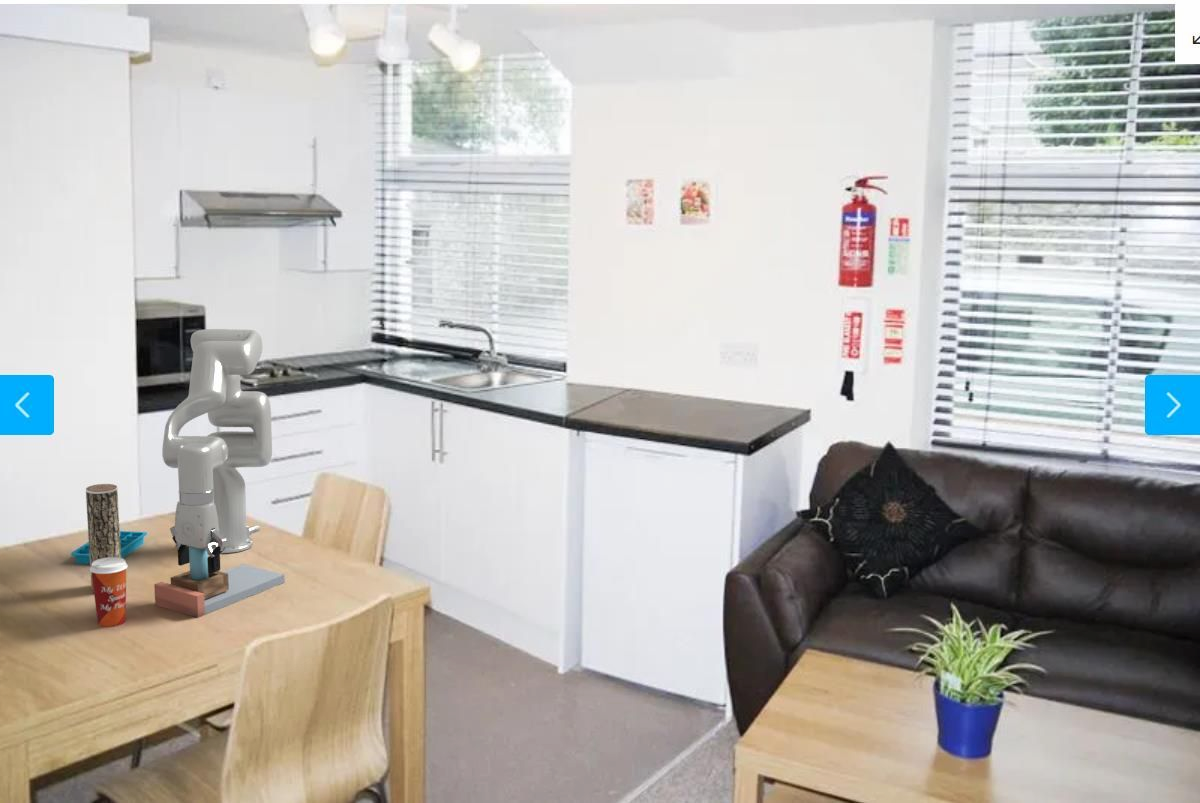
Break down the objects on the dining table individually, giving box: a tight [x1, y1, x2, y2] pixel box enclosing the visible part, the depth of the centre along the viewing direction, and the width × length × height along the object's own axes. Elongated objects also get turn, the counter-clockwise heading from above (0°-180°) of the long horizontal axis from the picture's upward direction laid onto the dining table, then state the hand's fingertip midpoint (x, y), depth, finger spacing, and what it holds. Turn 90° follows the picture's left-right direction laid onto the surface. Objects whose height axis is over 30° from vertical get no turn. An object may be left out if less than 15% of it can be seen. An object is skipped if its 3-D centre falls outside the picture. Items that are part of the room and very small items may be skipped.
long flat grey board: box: [153, 563, 285, 618], centre depth 264 cm, size 27×14×5 cm, turn 151°
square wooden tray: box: [170, 570, 229, 599], centre depth 258 cm, size 9×9×4 cm
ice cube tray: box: [70, 530, 148, 565], centre depth 290 cm, size 12×20×3 cm, turn 178°
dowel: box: [189, 546, 209, 582], centre depth 257 cm, size 4×4×12 cm
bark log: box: [85, 483, 121, 591], centre depth 263 cm, size 7×7×25 cm
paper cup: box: [89, 557, 129, 628], centre depth 244 cm, size 8×8×14 cm
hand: (199, 567), depth 257 cm, fingers open, 9 cm apart
